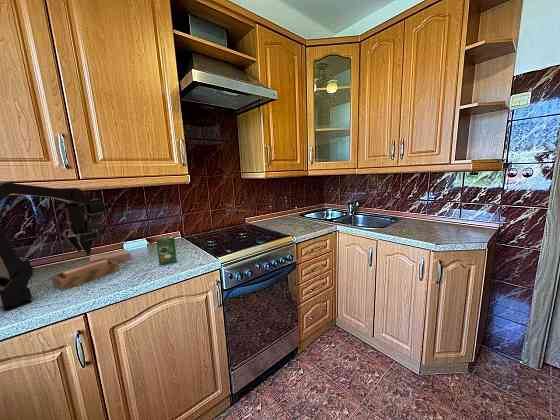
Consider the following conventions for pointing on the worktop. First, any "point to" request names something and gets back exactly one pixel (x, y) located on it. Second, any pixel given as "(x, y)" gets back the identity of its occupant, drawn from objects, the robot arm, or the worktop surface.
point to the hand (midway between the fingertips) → (83, 253)
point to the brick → (113, 257)
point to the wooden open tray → (84, 276)
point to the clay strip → (84, 269)
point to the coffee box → (166, 250)
